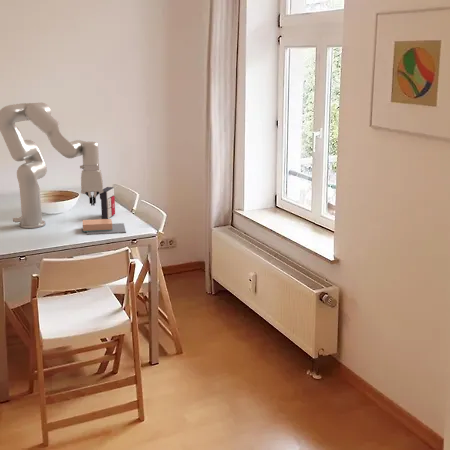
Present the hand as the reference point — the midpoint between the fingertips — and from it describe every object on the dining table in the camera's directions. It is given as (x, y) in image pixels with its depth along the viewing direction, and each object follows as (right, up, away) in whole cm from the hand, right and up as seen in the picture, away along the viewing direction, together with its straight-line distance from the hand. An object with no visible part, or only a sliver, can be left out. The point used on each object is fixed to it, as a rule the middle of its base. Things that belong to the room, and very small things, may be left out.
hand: (92, 204), depth 315 cm
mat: (+6, -12, +5) cm, 14 cm away
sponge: (-5, -10, +2) cm, 12 cm away
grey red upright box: (+3, -6, +28) cm, 28 cm away
